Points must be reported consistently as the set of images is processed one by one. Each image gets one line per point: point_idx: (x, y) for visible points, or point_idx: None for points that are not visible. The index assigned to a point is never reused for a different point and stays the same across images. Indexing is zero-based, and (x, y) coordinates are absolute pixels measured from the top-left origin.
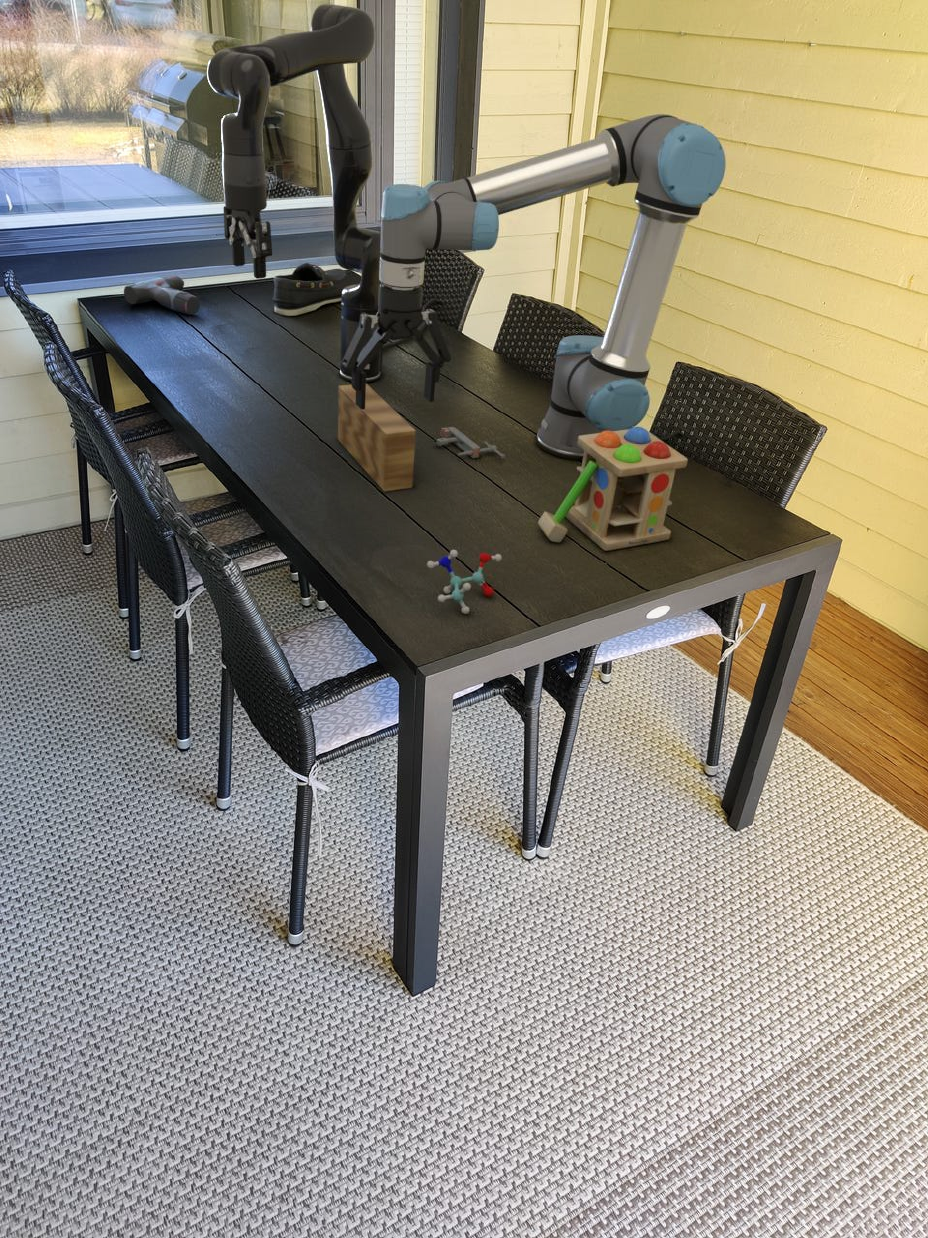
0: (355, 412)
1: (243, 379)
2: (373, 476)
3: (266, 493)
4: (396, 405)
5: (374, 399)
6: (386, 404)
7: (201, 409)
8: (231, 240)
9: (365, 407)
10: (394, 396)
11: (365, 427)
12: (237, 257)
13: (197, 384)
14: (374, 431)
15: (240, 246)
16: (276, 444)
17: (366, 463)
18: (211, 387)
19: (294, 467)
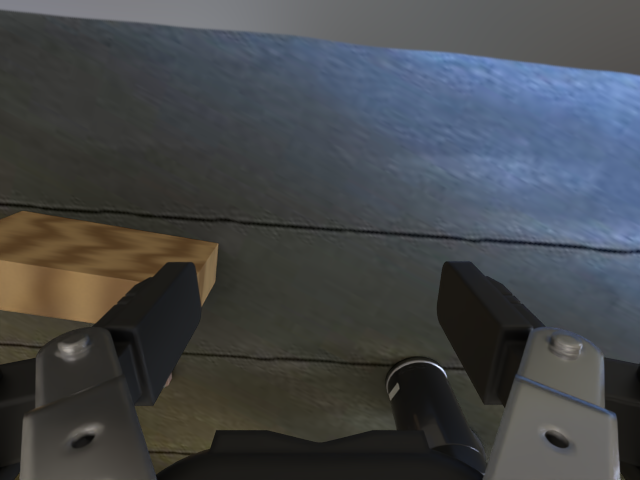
0: (102, 265)
1: (510, 228)
2: (63, 219)
3: (55, 31)
4: (297, 369)
5: (100, 311)
6: (71, 317)
7: (436, 97)
8: (551, 354)
9: (65, 279)
10: (326, 381)
11: (55, 253)
12: (460, 303)
13: (542, 145)
14: (2, 250)
15: (485, 375)
16: (238, 148)
17: (87, 227)
18: (514, 162)
19: (142, 130)
